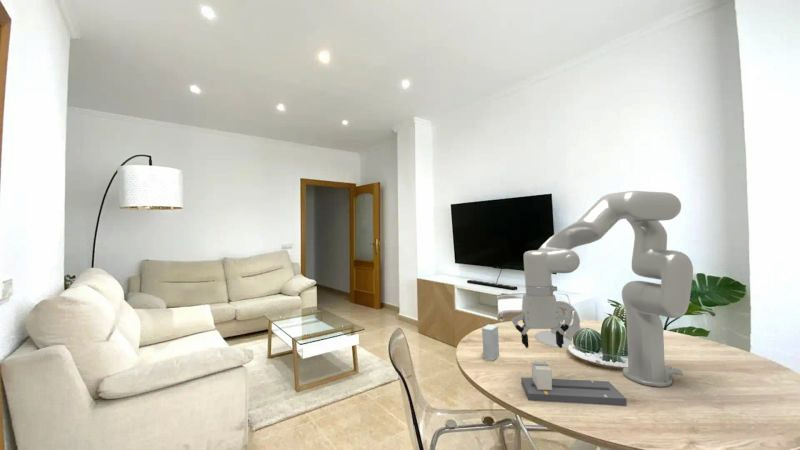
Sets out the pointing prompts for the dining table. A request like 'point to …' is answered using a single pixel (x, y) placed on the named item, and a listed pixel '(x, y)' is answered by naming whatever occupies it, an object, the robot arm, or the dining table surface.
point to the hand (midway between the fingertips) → (542, 346)
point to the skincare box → (490, 342)
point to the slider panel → (575, 392)
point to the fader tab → (541, 375)
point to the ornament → (550, 337)
